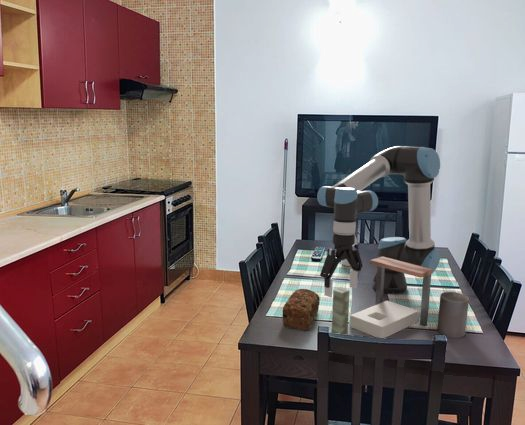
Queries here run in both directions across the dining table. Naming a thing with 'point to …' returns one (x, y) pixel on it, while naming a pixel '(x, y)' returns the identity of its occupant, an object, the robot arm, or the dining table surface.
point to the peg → (340, 311)
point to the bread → (301, 309)
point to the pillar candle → (452, 314)
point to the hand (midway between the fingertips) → (340, 291)
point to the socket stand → (388, 313)
